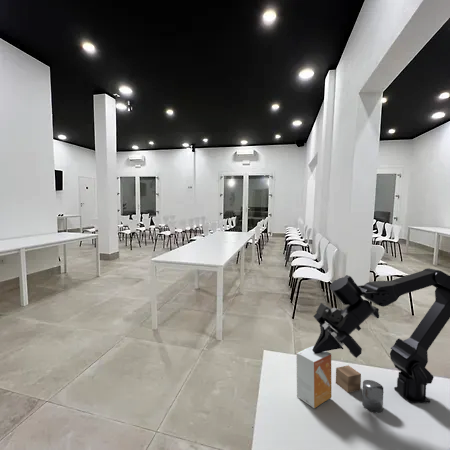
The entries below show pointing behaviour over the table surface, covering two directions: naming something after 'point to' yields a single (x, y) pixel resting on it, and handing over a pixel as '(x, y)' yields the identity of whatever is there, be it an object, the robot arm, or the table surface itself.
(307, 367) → the small box
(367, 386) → the charcoal metal cylinder
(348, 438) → the table surface
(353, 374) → the walnut block
